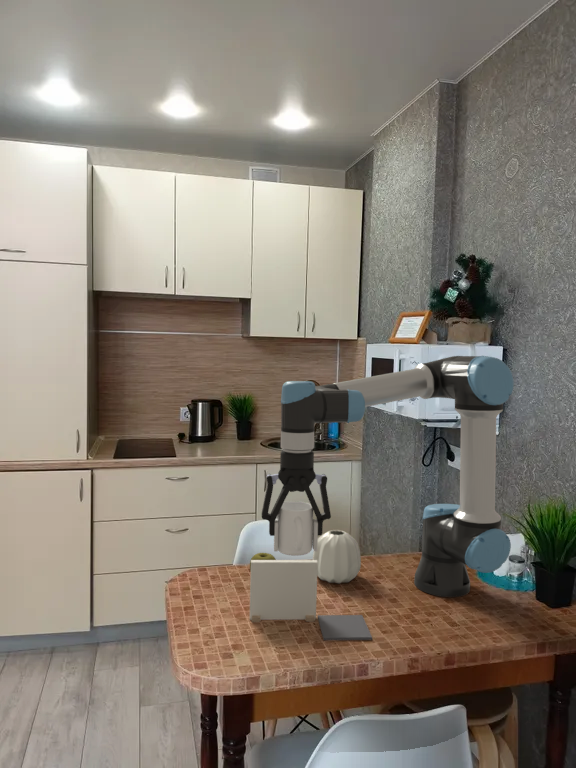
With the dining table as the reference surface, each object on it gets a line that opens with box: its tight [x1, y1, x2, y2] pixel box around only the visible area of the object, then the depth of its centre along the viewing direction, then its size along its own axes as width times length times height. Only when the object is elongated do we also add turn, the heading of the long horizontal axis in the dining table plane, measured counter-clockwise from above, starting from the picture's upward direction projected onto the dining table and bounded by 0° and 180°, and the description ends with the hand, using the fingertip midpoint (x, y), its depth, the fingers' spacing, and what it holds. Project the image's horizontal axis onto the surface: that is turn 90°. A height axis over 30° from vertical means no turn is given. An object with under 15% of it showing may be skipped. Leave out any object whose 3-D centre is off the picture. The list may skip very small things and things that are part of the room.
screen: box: [249, 559, 318, 623], centre depth 137 cm, size 16×4×14 cm, turn 94°
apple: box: [249, 552, 277, 572], centre depth 161 cm, size 8×8×7 cm
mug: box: [276, 500, 314, 557], centre depth 129 cm, size 12×8×10 cm
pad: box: [317, 614, 373, 641], centre depth 133 cm, size 11×11×1 cm
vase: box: [312, 529, 362, 584], centre depth 163 cm, size 14×14×13 cm
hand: (295, 549), depth 129 cm, fingers closed on mug, 8 cm apart
